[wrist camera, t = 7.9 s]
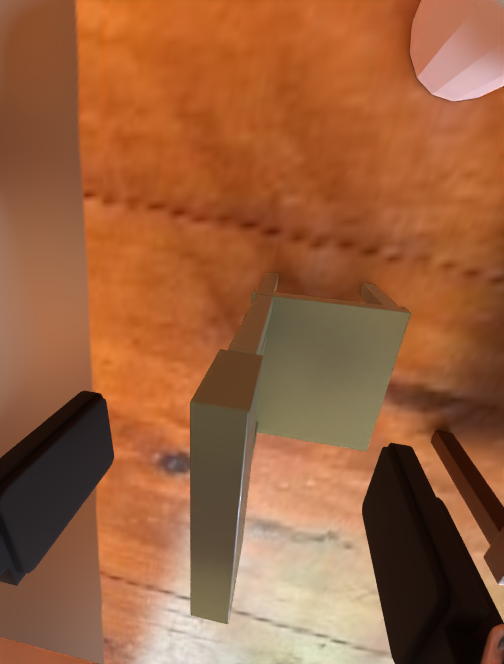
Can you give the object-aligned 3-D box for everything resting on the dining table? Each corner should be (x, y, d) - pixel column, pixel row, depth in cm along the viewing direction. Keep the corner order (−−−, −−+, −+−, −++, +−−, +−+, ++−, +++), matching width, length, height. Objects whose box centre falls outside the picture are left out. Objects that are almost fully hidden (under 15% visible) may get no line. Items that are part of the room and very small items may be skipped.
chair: (265, 269, 18) (189, 401, 6) (377, 282, 18) (585, 467, 5) (254, 376, 22) (190, 616, 9) (349, 390, 21) (430, 675, 8)
